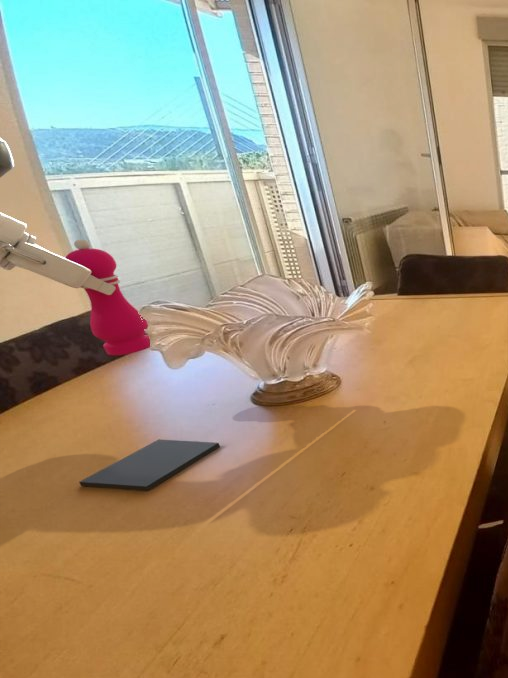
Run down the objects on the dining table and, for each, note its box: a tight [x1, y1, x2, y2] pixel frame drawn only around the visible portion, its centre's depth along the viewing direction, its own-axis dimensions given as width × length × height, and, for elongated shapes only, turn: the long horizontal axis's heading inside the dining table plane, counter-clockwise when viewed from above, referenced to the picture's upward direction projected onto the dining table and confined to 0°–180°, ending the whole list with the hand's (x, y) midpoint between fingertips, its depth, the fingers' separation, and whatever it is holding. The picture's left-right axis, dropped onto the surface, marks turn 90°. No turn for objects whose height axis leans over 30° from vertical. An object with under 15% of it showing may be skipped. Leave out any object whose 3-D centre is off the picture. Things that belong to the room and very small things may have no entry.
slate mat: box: [78, 438, 221, 492], centre depth 77 cm, size 12×12×1 cm
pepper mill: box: [64, 239, 151, 356], centre depth 84 cm, size 7×7×20 cm
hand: (107, 288), depth 84 cm, fingers closed on pepper mill, 5 cm apart
